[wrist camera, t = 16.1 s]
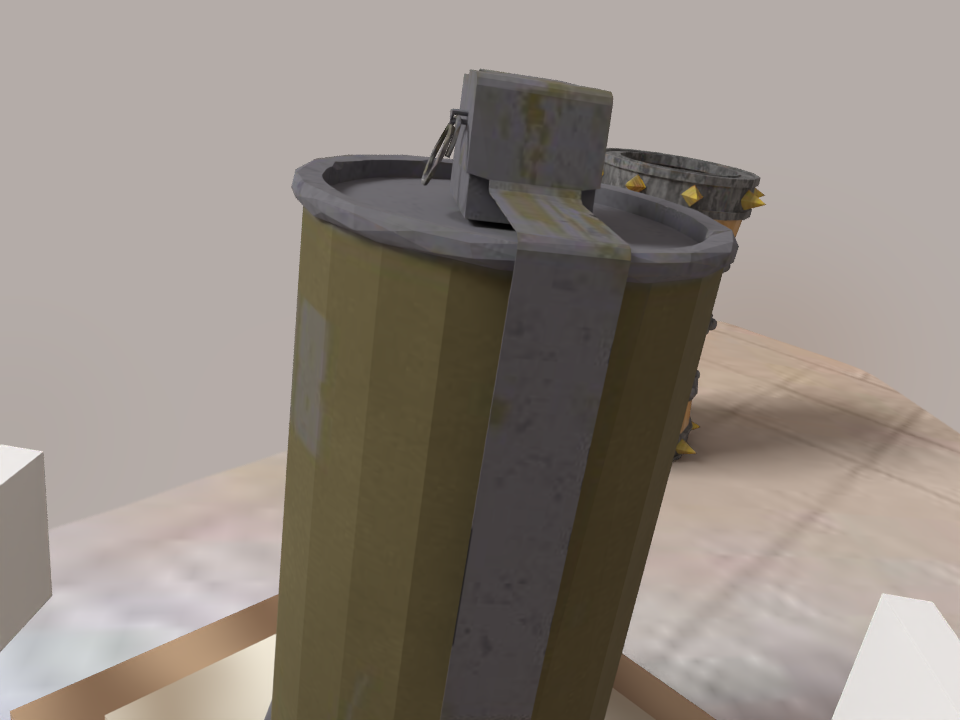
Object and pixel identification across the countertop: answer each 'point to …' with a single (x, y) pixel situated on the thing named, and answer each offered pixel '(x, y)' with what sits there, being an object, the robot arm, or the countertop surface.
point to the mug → (686, 205)
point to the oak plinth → (262, 681)
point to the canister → (481, 414)
